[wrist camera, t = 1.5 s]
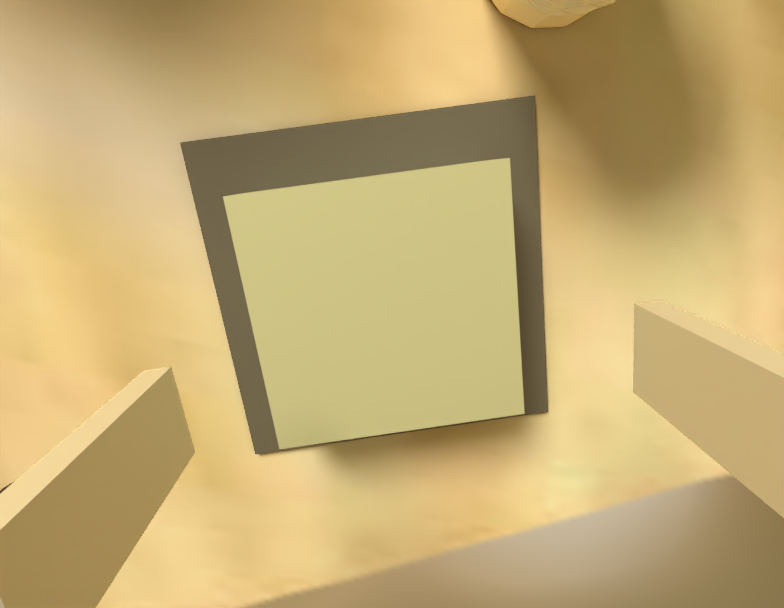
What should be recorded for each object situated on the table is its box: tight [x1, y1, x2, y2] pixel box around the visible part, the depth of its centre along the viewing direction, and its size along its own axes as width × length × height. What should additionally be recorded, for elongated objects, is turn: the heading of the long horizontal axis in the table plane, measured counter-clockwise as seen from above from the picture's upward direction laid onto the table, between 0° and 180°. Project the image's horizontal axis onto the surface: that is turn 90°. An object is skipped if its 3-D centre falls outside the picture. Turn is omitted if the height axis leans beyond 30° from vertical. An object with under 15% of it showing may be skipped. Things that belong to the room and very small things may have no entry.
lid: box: [223, 158, 525, 449], centre depth 21 cm, size 11×11×4 cm
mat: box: [180, 96, 548, 454], centre depth 23 cm, size 16×16×1 cm
